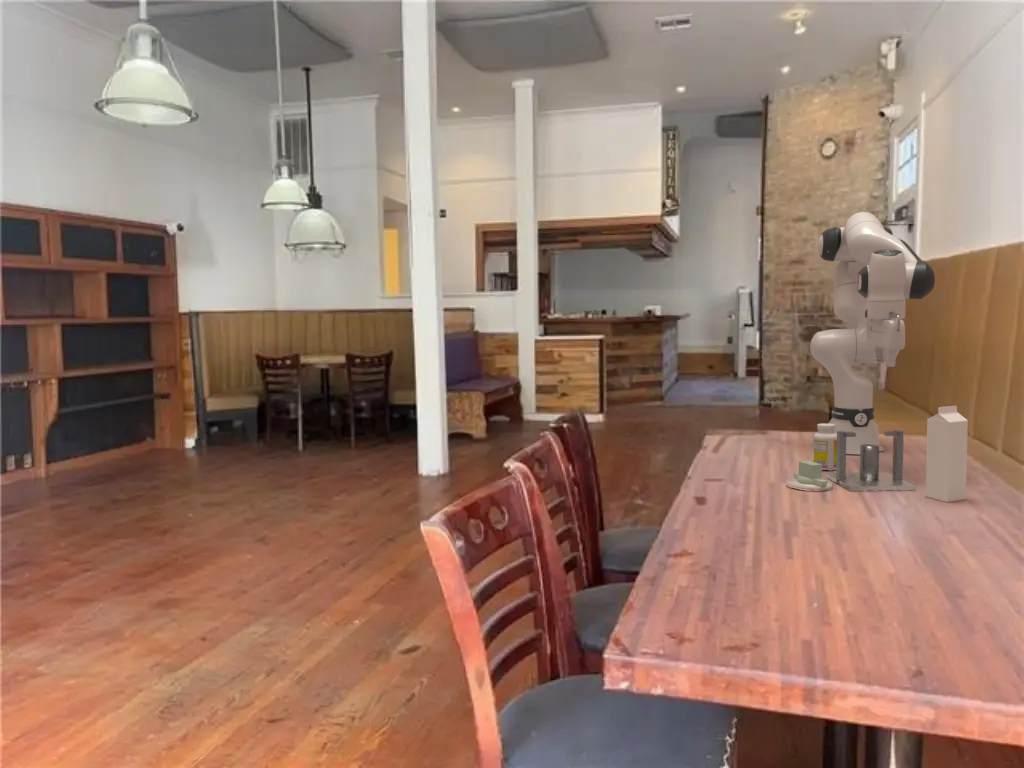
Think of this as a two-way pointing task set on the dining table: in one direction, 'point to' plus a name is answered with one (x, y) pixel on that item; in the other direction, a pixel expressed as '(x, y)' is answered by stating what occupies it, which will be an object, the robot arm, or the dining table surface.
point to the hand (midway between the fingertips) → (885, 364)
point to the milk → (946, 455)
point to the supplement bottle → (826, 447)
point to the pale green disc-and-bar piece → (810, 473)
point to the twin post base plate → (870, 466)
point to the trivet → (795, 483)
